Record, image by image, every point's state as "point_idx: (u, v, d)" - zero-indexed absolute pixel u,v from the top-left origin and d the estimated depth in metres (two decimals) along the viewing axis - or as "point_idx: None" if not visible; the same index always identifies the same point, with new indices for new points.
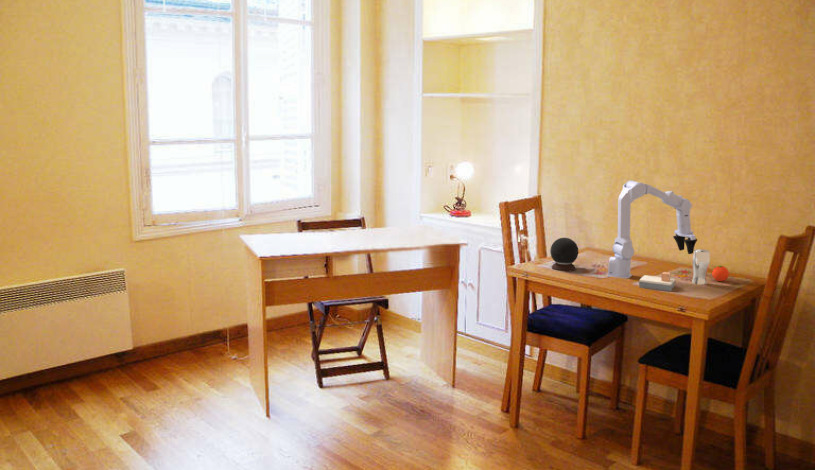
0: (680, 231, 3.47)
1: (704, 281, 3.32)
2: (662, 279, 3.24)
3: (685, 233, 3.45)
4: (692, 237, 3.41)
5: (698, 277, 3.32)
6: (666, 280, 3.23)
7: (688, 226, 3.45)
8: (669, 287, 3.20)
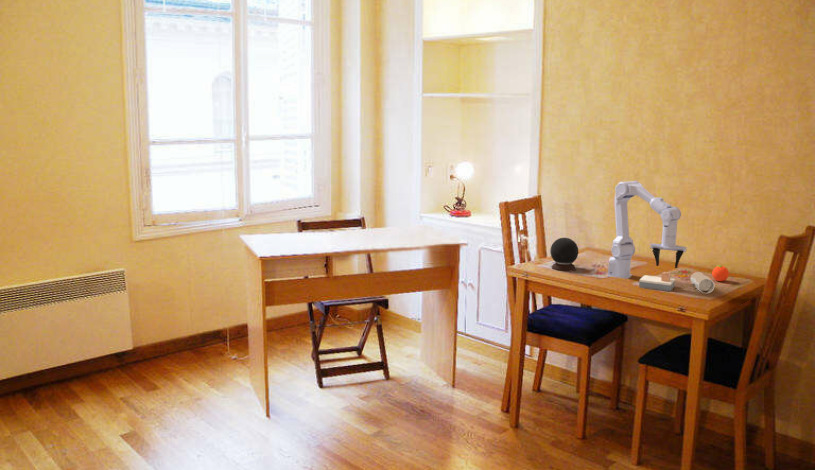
0: None
1: None
2: (662, 279, 3.24)
3: None
4: None
5: None
6: (666, 280, 3.23)
7: (662, 237, 3.22)
8: (669, 287, 3.20)
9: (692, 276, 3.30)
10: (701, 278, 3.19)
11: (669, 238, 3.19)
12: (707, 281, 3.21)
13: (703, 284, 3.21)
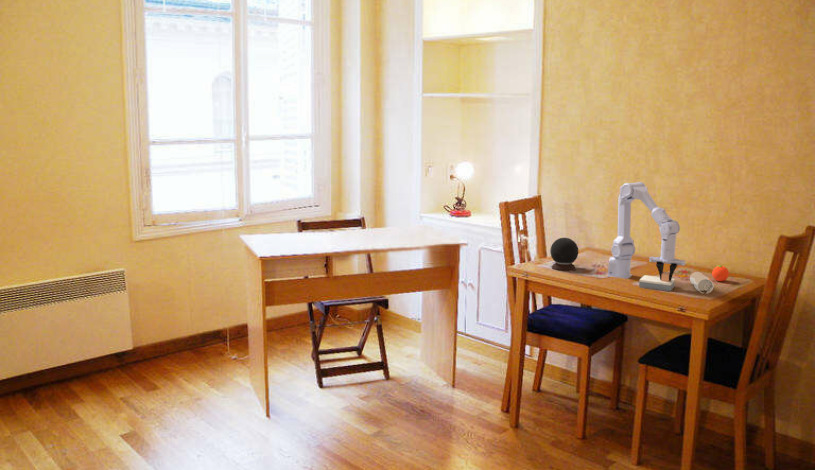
0: None
1: None
2: (662, 279, 3.24)
3: None
4: None
5: None
6: (666, 280, 3.23)
7: None
8: (669, 287, 3.20)
9: (691, 277, 3.31)
10: (699, 279, 3.19)
11: (668, 252, 3.20)
12: (706, 281, 3.21)
13: (702, 284, 3.21)
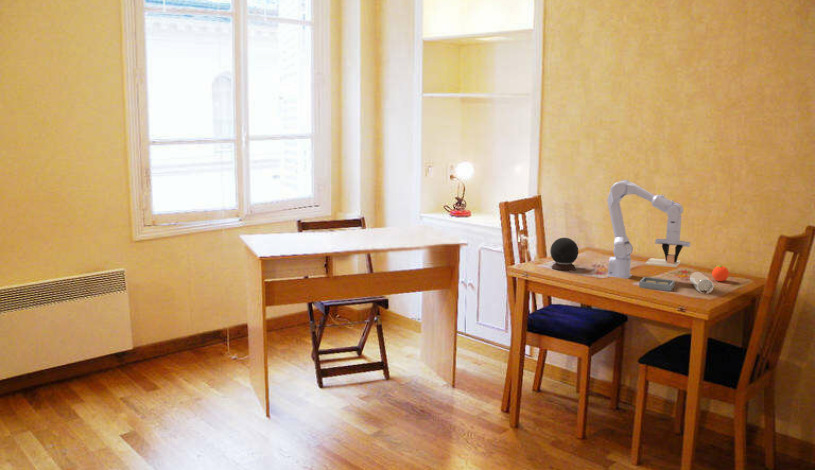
0: None
1: None
2: (667, 261, 3.31)
3: None
4: None
5: None
6: (671, 262, 3.31)
7: None
8: (669, 287, 3.20)
9: (691, 277, 3.31)
10: (699, 279, 3.19)
11: (674, 234, 3.28)
12: (706, 281, 3.21)
13: (702, 284, 3.21)
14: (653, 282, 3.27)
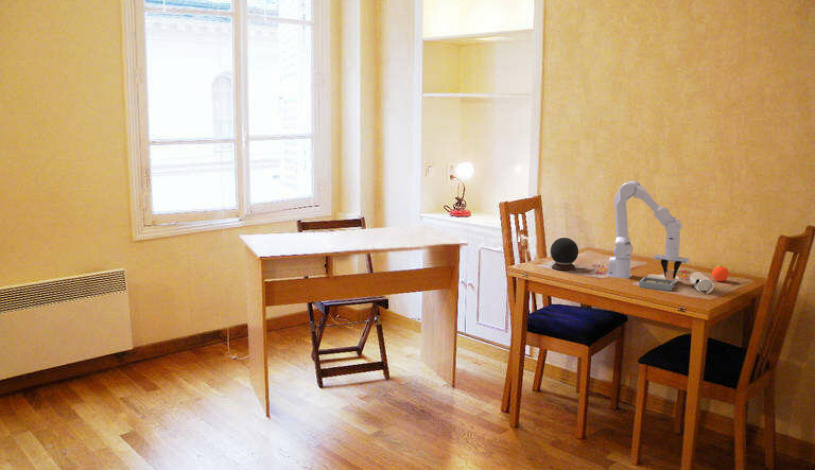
0: None
1: None
2: (666, 278, 3.33)
3: None
4: None
5: None
6: (670, 278, 3.32)
7: (665, 249, 3.33)
8: (669, 287, 3.20)
9: (691, 277, 3.31)
10: (699, 279, 3.19)
11: (673, 250, 3.29)
12: (706, 281, 3.21)
13: (702, 284, 3.21)
14: (653, 282, 3.27)
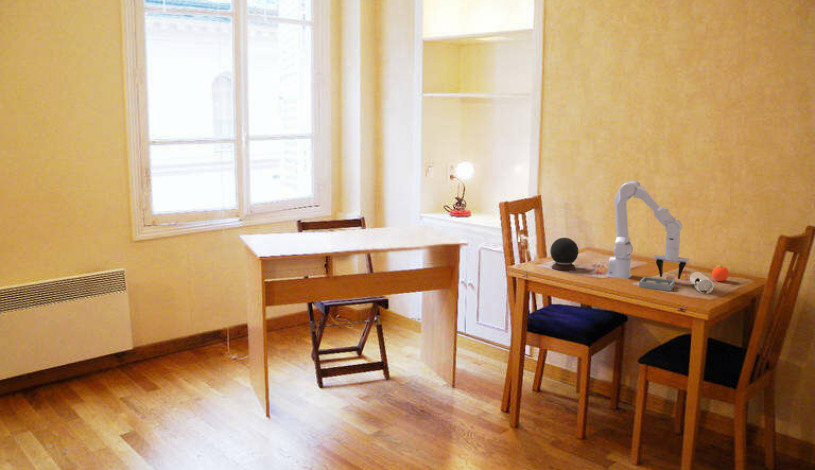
0: None
1: None
2: None
3: None
4: None
5: None
6: None
7: (665, 249, 3.33)
8: (669, 287, 3.20)
9: (691, 277, 3.31)
10: (699, 279, 3.19)
11: (672, 250, 3.29)
12: (706, 281, 3.21)
13: (702, 284, 3.21)
14: (653, 282, 3.27)
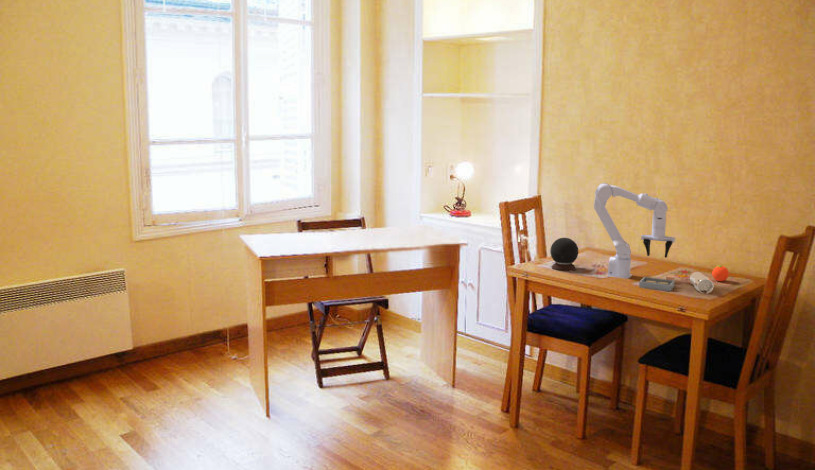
0: None
1: None
2: None
3: None
4: None
5: None
6: None
7: (652, 228, 3.39)
8: (669, 287, 3.20)
9: (691, 277, 3.31)
10: (699, 279, 3.19)
11: (659, 230, 3.36)
12: (706, 281, 3.21)
13: (702, 284, 3.21)
14: (653, 282, 3.27)
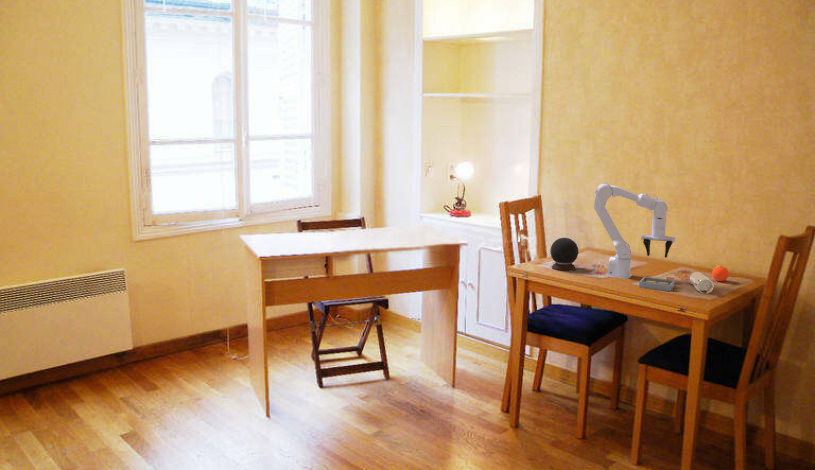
0: None
1: None
2: None
3: None
4: None
5: None
6: None
7: (652, 228, 3.39)
8: (669, 287, 3.20)
9: (691, 277, 3.31)
10: (699, 279, 3.19)
11: (659, 230, 3.36)
12: (706, 281, 3.21)
13: (702, 284, 3.21)
14: (653, 282, 3.27)
